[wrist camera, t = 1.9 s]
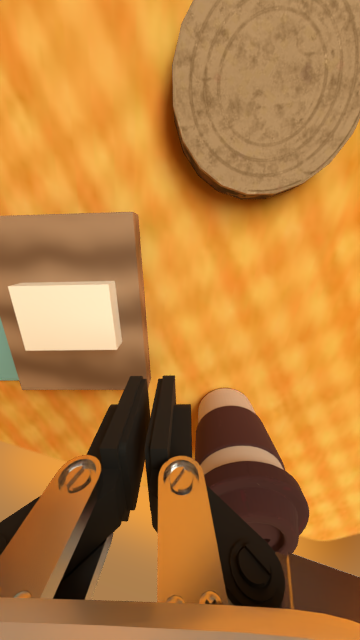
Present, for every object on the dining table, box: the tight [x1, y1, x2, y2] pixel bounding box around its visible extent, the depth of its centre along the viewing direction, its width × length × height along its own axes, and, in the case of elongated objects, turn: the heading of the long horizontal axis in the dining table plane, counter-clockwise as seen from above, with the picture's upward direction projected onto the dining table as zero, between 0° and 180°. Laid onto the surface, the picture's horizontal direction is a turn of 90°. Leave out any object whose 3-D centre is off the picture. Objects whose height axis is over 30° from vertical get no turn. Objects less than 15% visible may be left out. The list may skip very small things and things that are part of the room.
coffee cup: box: [195, 388, 309, 556], centre depth 24 cm, size 10×10×15 cm
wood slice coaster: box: [172, 0, 360, 199], centre depth 19 cm, size 16×16×3 cm
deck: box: [0, 212, 151, 390], centre depth 26 cm, size 20×16×2 cm
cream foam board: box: [8, 281, 122, 351], centre depth 24 cm, size 7×10×2 cm
